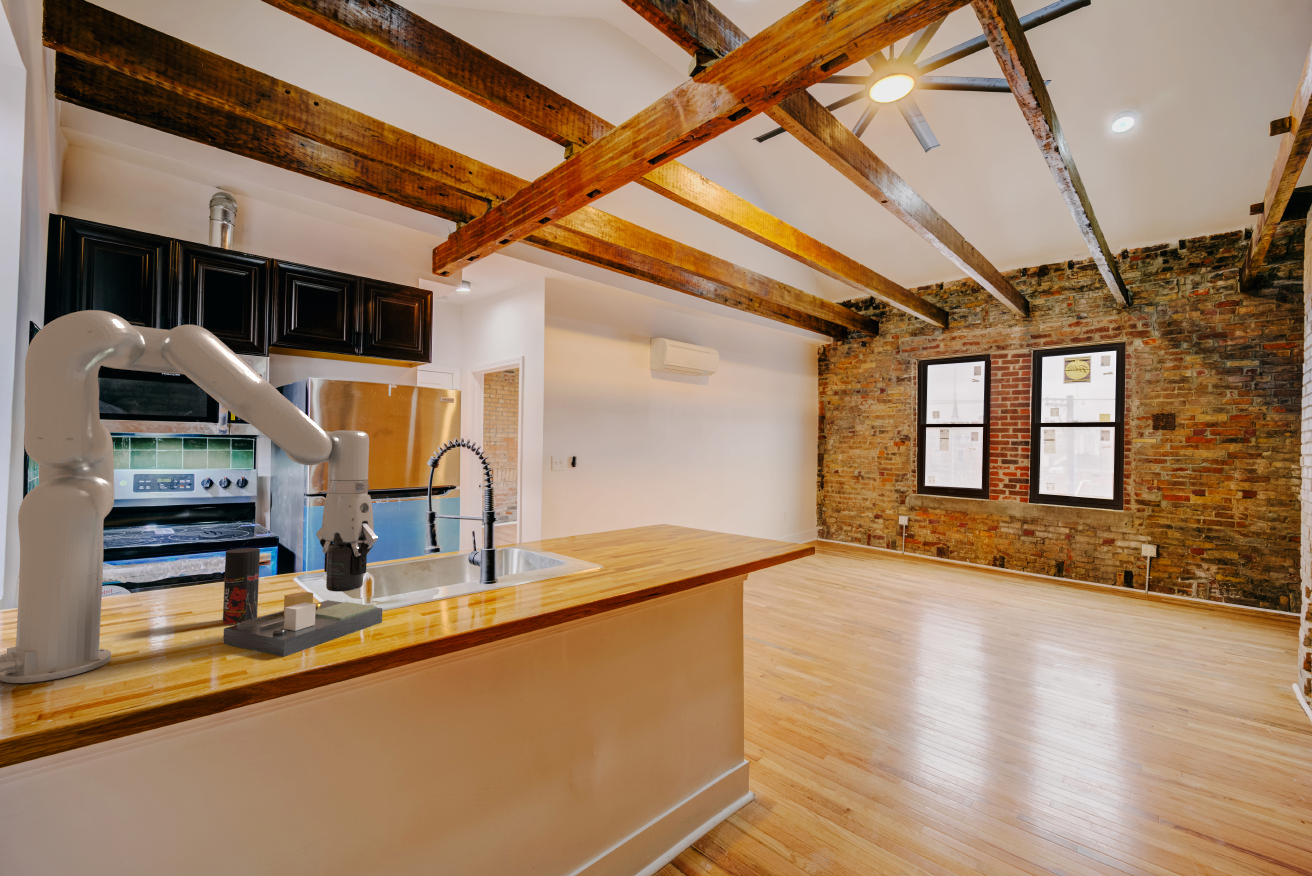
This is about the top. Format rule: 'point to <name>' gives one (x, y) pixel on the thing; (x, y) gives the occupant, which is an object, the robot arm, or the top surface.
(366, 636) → the top surface
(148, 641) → the top surface
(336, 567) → the supplement bottle
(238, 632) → the panel
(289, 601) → the block
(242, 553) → the deodorant
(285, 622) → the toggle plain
